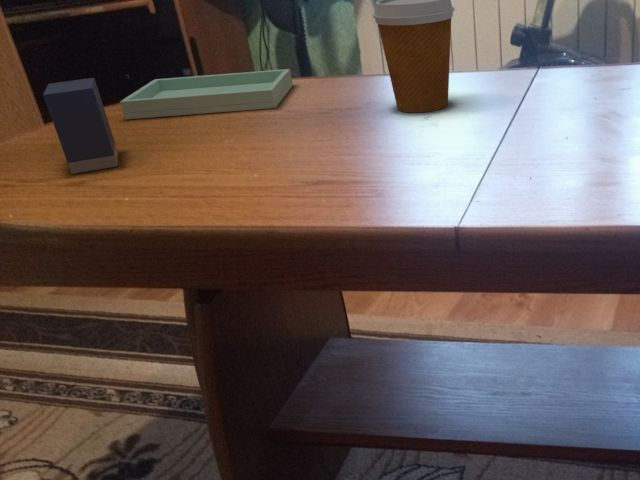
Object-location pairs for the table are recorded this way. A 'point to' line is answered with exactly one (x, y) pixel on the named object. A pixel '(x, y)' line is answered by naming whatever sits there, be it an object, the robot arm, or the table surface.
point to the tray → (208, 94)
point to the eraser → (81, 125)
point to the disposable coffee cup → (417, 51)
